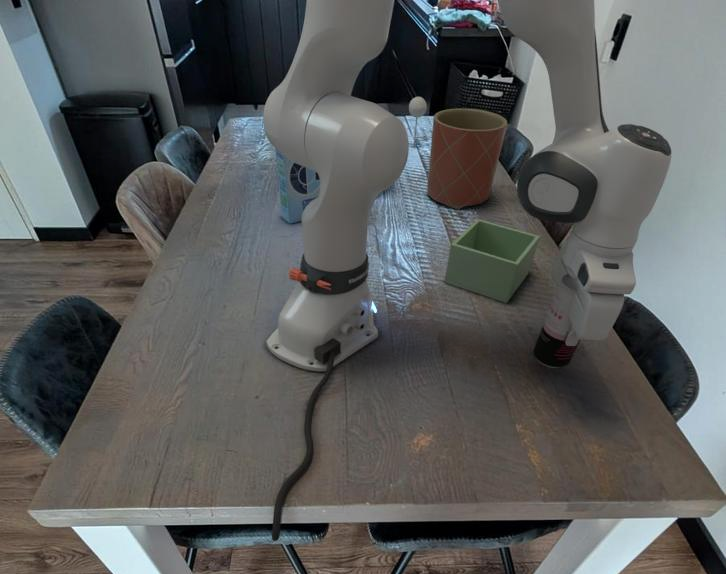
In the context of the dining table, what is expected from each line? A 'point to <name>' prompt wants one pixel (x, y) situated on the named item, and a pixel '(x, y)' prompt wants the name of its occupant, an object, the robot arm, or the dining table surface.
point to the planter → (464, 155)
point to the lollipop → (417, 110)
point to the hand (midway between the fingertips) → (563, 329)
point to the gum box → (295, 187)
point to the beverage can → (557, 329)
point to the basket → (491, 259)
